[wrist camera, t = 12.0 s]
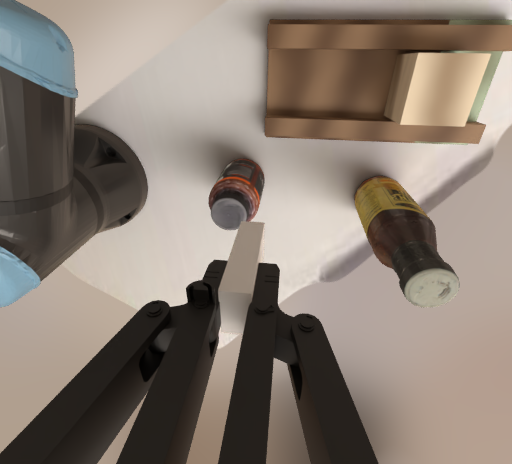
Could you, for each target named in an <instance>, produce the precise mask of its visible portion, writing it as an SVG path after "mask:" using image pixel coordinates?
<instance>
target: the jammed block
mask: <svg viewBox="0 0 512 464" xmlns="http://www.w3.org/2000/svg"><path fill="white" fill-rule="evenodd" d="M490 56H491V54H488V53H410V54H399V55H397V58H396V63H395V67H394V72H393V76H392V81H391V85H390V90H389V94H388V98H387V103H386V107H385V112H384V116H386V117H388V118H389V119H391V120H393V121H395V122H396V123H398V124H400V125H427V126H457V127H465V124H466V122H467V119H468V116H469V113H470V111H471V108H472V105H473V103H474V100H475V97H476V94H477V92H478V89H479V86H480V83H481V81H482V78H483V75H484V73H485V70H486V67H487V64H488V62H489V59H490Z"/></svg>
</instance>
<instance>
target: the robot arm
mask: <svg viewBox="0 0 512 464" xmlns="http://www.w3.org/2000/svg"><path fill="white" fill-rule="evenodd" d="M77 96H78V91H77V89H76V88H75V70H74V52H73V48H72V45H71V42H70V40H69V39H68V37H67V35H66V34H65V33H64V31H63V30H62V29H61V28H60V27H59V26H57V25H56V24H55V23H54V22H52V21H51V20H50V19H48V18H47V17H45V16H43V15H42V14H40V13H38V12H36V11H34V10H32V9H31V8H29V7H27V6H25V5H23V4H21V3H19V2H17V1H15V0H0V307H5V306H8V305H10V304H12V303H14V302H15V301H17V300H18V299H19V298H21V297H22V296H24V295H25V294H27V293H28V292H29V291H31V290H32V289H35V288H36V287H38V286H39V285H40V282H41V281H42V280H43V279H44V278H46V277H47V276H48V275H49V274H50V273H51V272H53V271H54V270H55V269H56V268H57V267H58V266H59V265H61V264H62V263H63V262H64V261H65V260H66V259H68V258H69V257H70V256H71V255H72V254H73V253H74V252H76V251H77V250H78V249H79V248H80V247H81V246H83V245H84V244H85V243H86V242H87V241H88V240H89V239H91V238H92V237H93V236H94V235H95V234H97V233H100V232H103V231H106V230H110V229H113V228H116V227H119V226H122V225H124V224H126V223H127V222H129V221H130V220H131V219H133V218H134V217H135V216H136V215H137V214H138V213H139V212H140V211H141V209H142V208H143V206H144V204H145V202H146V199H147V192H148V186H147V179H146V175H145V172H144V169H143V167H142V165H141V163H140V161H139V160H138V158H137V156H136V155H135V154H134V152H133V151H132V150H131V149H130V148H129V147H128V146H127V145H126V144H125V143H124V142H123V141H122V140H121V139H119V138H118V137H117V136H115V135H114V134H112V133H110V132H108V131H106V130H104V129H102V128H99V127H96V126H92V125H84V124H81V125H74V122H75V98H77ZM264 226H265V223H261V222H246V221H241V224H240V227H239V230H238V233H237V236H236V239H235V242H234V245H233V248H232V251H231V253H230V256H229V259H228V261H224V260H214V261H213V262H211V263H210V264H209V265H208V268H207V270H206V272H205V275H204V277H203V279H202V280H199V281H195V282H193V283H191V284H189V285H188V287H187V288H186V292H187V299H188V303H186V304H184V305H180V306H174V307H170V306H169V305H168V303H166V302H165V301H160V300H157V301H152V302H150V303H147V304H146V305H145V306H143V307H142V308H141V309H140V310H139V311H138V312H137V313H136V314H135V315H134V316H133V318H132V319H131V320H130V321H129V322H128V323H127V324H126V325H125V326H124V327H123V328H122V329H121V330H120V331H119V332H118V333H117V334H116V335H115V336H114V337H113V338H112V339H111V340H110V341H109V342H108V343H107V344H106V345H105V346H104V348H102V349H101V350H100V351H99V353H98V354H97V355H96V356H95V357H94V358H93V359H92V360H91V361H90V362H89V363H88V364H87V365H86V366H85V367H84V368H83V369H82V370H81V371H80V372H79V373H78V374H77V375H76V376H75V377H74V378H73V379H72V380H71V382H69V383H68V384H67V386H66V387H64V388H63V390H62V391H61V392H60V393H59V394H58V395H57V396H56V397H55V398H54V399H53V400H52V401H51V402H50V403H49V404H48V405H47V406H46V407H45V408H44V409H43V410H42V411H41V412H40V413H39V414H38V415H37V416H36V417H35V418H34V419H33V421H32V422H30V424H29V425H28V426H27V427H26V428H25V429H24V430H23V431H22V432H21V433H20V434H19V435H18V436H17V437H16V438H15V439H14V440H13V441H12V442H11V443H10V444H9V445H8V446H7V447H6V448H5V449H4V450H3V451H2V452H1V453H0V464H97V463H98V461H99V460H100V459H101V457H102V456H103V454H104V453H105V452H106V450H107V449H108V447H109V446H110V444H111V443H112V442H113V440H114V439H115V437H116V436H117V435H118V433H119V432H120V430H121V429H122V427H123V426H124V425H125V423H126V422H127V420H128V419H129V418H130V416H131V415H132V413H133V412H134V410H135V409H136V408H137V406H138V405H139V403H140V402H141V400H142V399H143V398H144V396H145V395H146V393H147V392H148V393H147V395H146V398H145V400H144V402H143V404H142V407H141V409H140V411H139V413H138V416H137V418H136V420H135V422H134V425H133V427H132V429H131V431H130V434H129V436H128V438H127V441H126V443H125V445H124V447H123V449H122V452H121V454H120V456H119V458H118V461H117V463H116V464H186V462H187V458H188V454H189V450H190V447H191V443H192V439H193V435H194V431H195V428H196V424H197V421H198V417H199V413H200V409H201V405H202V402H203V398H204V395H205V391H206V387H207V383H208V380H209V376H210V372H211V368H212V365H213V361H214V357H215V354H216V350H217V346H218V342H219V336H218V333H219V330H220V326H221V333H229V334H239V335H243V338H242V342H241V348H240V353H239V358H238V363H237V368H236V373H235V379H234V384H233V389H232V395H231V399H230V405H229V410H228V416H227V420H226V425H225V431H224V436H223V441H222V446H221V451H220V457H219V462H218V464H266V455H267V441H268V427H269V414H270V400H271V386H272V373H273V359H274V358H277V359H278V360H281V361H283V362H285V363H287V365H288V370H289V374H290V378H291V383H292V387H293V391H294V395H295V399H296V403H297V408H298V411H299V416H300V420H301V424H302V429H303V433H304V437H305V441H306V445H307V450H308V454H309V458H310V462H311V464H378V461H377V459H376V457H375V454H374V451H373V449H372V446H371V444H370V442H369V439H368V437H367V434H366V432H365V429H364V427H363V424H362V422H361V419H360V417H359V415H358V412H357V410H356V407H355V405H354V403H353V400H352V397H351V395H350V392H349V390H348V388H347V385H346V383H345V380H344V378H343V375H342V373H341V371H340V368H339V366H338V363H337V361H336V358H335V356H334V353H333V351H332V348H331V346H330V343H329V341H328V338H327V336H326V334H325V331H324V329H323V326H322V324H321V322H320V321H319V319H317V318H316V317H315V316H313V315H310V314H299V315H297V316H295V317H292V316H289V315H287V314H285V313H284V312H282V311H281V310H280V308H279V306H278V288H279V274H280V270H279V268H278V266H277V264H269V263H263V257H264Z"/></svg>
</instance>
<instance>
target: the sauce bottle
mask: <svg viewBox="0 0 512 464" xmlns="http://www.w3.org/2000/svg"><path fill="white" fill-rule="evenodd" d="M354 200H355V206H356V209H357V212H358V215H359V218H360V220H361V223H362V225H363V228H364V231H365V233H366V236H367V239H368V241H369V243H370V245H371V246H372V248H373V251H374V254H375V255H376V257H377V258H378V259H379V261H380V262H381V263H382V264H384V265H385V266H387V267H390V268H392V269H394V271H395V272H396V273H397V275H398V277H399V279H400V281H399V284H400V288H401V289H402V292H403V294H404V295H405V297H406V299H407V300H408V301H409V302H411V303H412V304H414V305H416V306H419V307H437V306H441V305H443V304H445V303H448V302H449V301H450V300H452V299H453V298H454V297H455V296H456V294H457V292H458V290H459V285H460V284H459V279H458V277H457V275H456V274H455V272H454V270H453V269H452V268H451V266H450V265H449V264H447V263H445V262H444V261H443V260H442V258H441V257H440V256H439V254H438V252H437V244H436V233H435V232H436V230H435V226H434V224H433V222H432V221H431V220H430V218H429V217H428V216H427V215H426V214H425V213H424V211H423V210H422V209H421V208H420V207H419V205H418V204H417V203H416V202H415V201H414V199H412V197H411V196H410V195H409V194H408V193H407V192H406V191H405V189H404V188H403V187H402V186H401V185H400V184H399V183H398V182H397V181H395V180H393V179H391V178H388V177H385V176H377V177H373V178H370V179H368V180H366V181H364V182H363V183H362V184H361V185H360V186H359V188H358V190H357V192H356V194H355V198H354Z"/></svg>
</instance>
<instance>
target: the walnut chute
mask: <svg viewBox="0 0 512 464" xmlns="http://www.w3.org/2000/svg"><path fill="white" fill-rule="evenodd" d="M267 48H268V49H269V55H268V88H267V115H266V117H265V136H266V137H278V138H303V139H329V140H355V141H380V142H406V143H432V144H458V145H467V144H468V143H472V144H479V142H480V139H481V137H482V134H483V132H484V129H485V127H486V125H485V124H482V123H478V122H476V121H477V118H478V115H479V113H480V110H481V108H482V105H483V102H484V100H485V97H486V95H487V92H488V89H489V87H490V84H491V81H492V79H493V76H494V74H495V71H496V68H497V66H498V63H499V61H500V58H501V55H502V53H503V51H512V20H270V21H269V24H268V37H267ZM410 53H488V54H491V56H490V59H489V62H488V64H487V67H486V70H485V73H484V75H483V78H482V81H481V83H480V86H479V89H478V92H477V94H476V97H475V100H474V103H473V105H472V108H471V111H470V113H469V116H468V119H467V122H466V124H465V127H457V126H427V125H400V124H398V123H396V122H395V121H393V120H391V119H389V118H388V117H386V116H384V112H385V107H386V103H387V98H388V94H389V90H390V85H391V81H392V76H393V72H394V67H395V63H396V58H397V55H399V54H410Z"/></svg>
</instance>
